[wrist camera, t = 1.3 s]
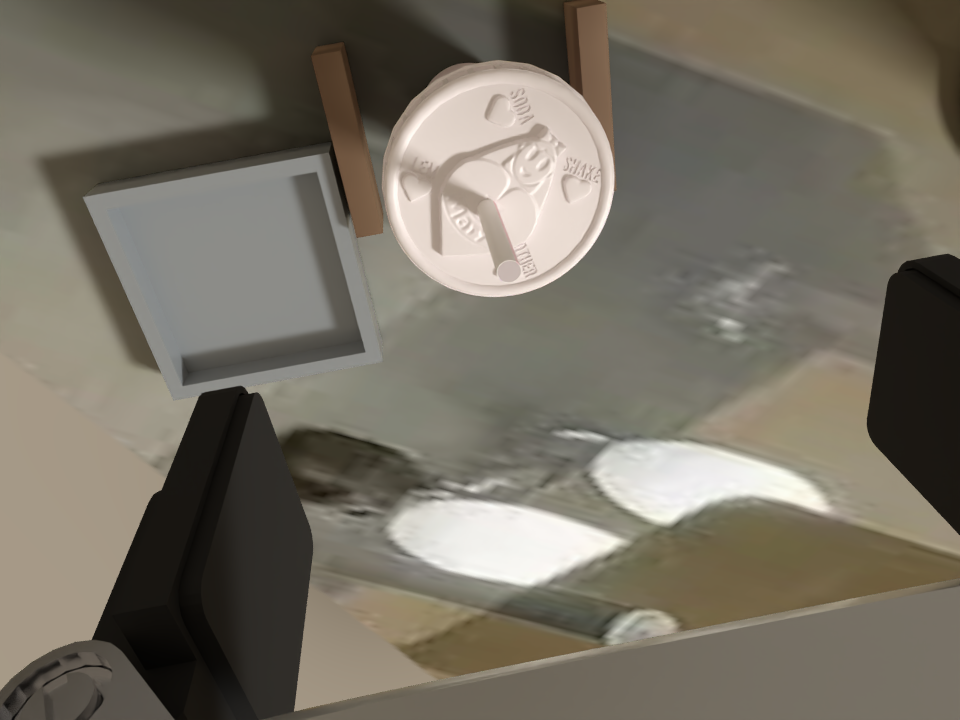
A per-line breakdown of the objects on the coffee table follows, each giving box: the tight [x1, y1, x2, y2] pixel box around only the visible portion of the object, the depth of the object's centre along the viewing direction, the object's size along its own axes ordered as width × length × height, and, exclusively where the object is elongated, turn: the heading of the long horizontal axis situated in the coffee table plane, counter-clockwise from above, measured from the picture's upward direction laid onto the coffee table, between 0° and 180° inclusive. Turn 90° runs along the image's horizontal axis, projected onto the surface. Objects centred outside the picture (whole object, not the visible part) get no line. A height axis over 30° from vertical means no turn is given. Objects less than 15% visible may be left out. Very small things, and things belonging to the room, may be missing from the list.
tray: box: [83, 142, 383, 400], centre depth 30 cm, size 9×9×2 cm
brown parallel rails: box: [311, 0, 616, 238], centre depth 27 cm, size 10×6×2 cm, turn 98°
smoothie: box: [382, 60, 615, 297], centre depth 22 cm, size 6×6×14 cm
